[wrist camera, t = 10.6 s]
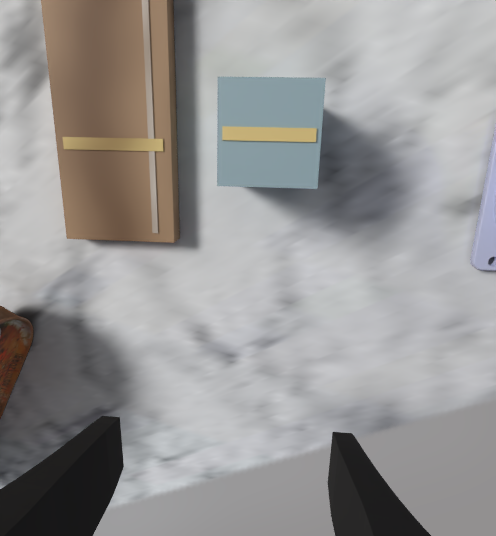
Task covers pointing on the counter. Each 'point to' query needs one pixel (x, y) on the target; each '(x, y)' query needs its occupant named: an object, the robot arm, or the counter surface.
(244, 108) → the block
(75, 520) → the robot arm
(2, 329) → the tin
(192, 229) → the counter surface
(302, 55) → the counter surface
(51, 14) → the walnut board
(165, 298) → the counter surface
